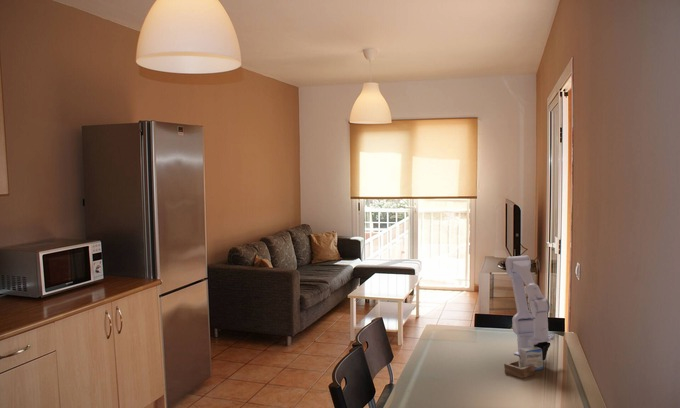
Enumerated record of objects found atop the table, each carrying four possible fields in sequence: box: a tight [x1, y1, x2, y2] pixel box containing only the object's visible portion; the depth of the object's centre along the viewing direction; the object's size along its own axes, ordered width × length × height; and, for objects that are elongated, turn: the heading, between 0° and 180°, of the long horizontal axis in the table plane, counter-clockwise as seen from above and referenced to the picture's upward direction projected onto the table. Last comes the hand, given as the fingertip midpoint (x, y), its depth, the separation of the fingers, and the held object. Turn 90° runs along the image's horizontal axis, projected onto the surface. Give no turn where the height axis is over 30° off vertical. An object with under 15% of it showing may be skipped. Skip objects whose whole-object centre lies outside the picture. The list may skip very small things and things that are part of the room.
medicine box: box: [519, 346, 544, 372], centre depth 223 cm, size 8×4×9 cm, turn 105°
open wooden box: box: [503, 360, 535, 379], centre depth 219 cm, size 7×9×4 cm
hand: (542, 359), depth 226 cm, fingers closed
